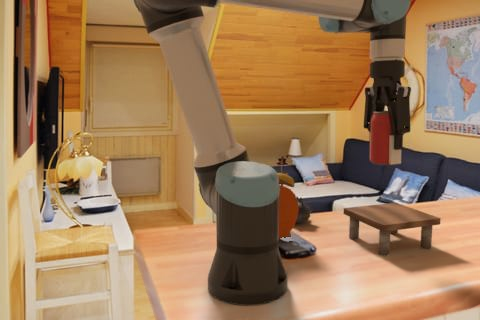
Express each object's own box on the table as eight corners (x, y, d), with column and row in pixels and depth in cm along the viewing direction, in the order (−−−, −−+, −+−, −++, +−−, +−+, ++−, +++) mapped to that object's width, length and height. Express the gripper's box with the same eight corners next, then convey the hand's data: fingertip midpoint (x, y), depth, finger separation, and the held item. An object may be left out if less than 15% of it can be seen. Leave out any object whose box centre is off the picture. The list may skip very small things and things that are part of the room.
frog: (295, 230, 124) (295, 202, 123) (267, 220, 134) (267, 193, 133) (321, 223, 130) (321, 197, 129) (292, 214, 140) (292, 189, 138)
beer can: (401, 165, 103) (402, 112, 101) (370, 165, 105) (371, 112, 103) (398, 161, 109) (399, 110, 108) (369, 160, 111) (370, 110, 109)
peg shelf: (382, 257, 103) (383, 225, 102) (342, 236, 118) (343, 208, 117) (438, 248, 109) (440, 218, 108) (394, 229, 124) (395, 202, 123)
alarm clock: (283, 233, 121) (284, 158, 118) (298, 240, 116) (300, 161, 113) (241, 243, 113) (240, 163, 110) (255, 250, 108) (255, 166, 105)
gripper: (432, 57, 95) (427, 166, 99) (375, 62, 114) (373, 154, 117) (401, 57, 93) (398, 169, 97) (348, 62, 111) (347, 157, 115)
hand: (384, 161), depth 107 cm, fingers closed on beer can, 7 cm apart
